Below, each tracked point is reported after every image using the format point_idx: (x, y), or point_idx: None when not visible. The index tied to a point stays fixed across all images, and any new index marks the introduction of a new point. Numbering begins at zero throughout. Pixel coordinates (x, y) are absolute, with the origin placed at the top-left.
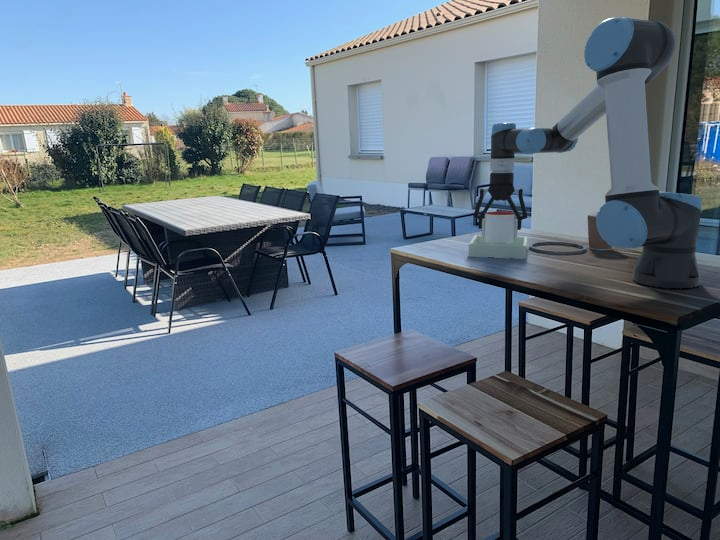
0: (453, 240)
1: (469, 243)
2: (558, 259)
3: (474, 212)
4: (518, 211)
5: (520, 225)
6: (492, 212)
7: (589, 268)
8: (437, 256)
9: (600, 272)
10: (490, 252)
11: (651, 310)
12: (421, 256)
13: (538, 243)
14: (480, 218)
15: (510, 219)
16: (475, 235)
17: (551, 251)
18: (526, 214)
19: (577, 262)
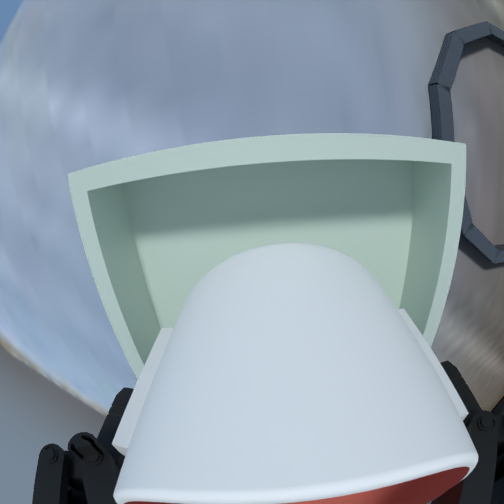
0: (11, 68)
1: None
2: (478, 331)
3: (74, 501)
4: (493, 475)
5: None
6: (150, 488)
7: (487, 381)
8: (94, 388)
9: (485, 395)
10: None
11: None
12: (65, 387)
13: (460, 47)
14: None
15: (377, 495)
16: (74, 187)
17: (495, 262)
18: (501, 459)
19: (498, 342)
